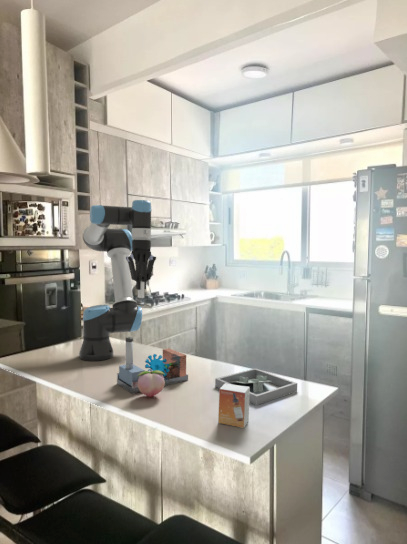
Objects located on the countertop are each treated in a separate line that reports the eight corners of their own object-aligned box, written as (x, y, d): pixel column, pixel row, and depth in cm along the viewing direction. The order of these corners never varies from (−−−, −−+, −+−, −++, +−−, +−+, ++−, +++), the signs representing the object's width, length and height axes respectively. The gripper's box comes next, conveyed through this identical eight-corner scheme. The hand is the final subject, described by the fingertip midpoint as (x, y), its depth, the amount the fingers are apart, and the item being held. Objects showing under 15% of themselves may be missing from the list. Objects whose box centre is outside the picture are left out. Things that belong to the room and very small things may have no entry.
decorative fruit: (160, 390, 140) (161, 363, 140) (166, 399, 133) (167, 370, 132) (134, 393, 137) (134, 365, 136) (139, 402, 129) (139, 373, 129)
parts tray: (215, 386, 146) (215, 378, 145) (254, 375, 159) (255, 368, 158) (256, 405, 129) (256, 396, 129) (297, 391, 142) (297, 383, 142)
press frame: (116, 383, 146) (117, 357, 146) (170, 371, 161) (170, 347, 161) (132, 393, 137) (132, 365, 136) (188, 380, 152) (188, 354, 151)
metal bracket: (277, 375, 143) (238, 378, 139) (279, 392, 141) (239, 395, 138) (262, 374, 156) (226, 376, 153) (264, 389, 155) (227, 392, 151)
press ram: (119, 378, 146) (119, 335, 145) (131, 375, 149) (131, 334, 148) (132, 386, 138) (132, 341, 137) (144, 383, 141) (144, 339, 140)
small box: (217, 423, 115) (218, 388, 115) (223, 416, 121) (224, 382, 120) (244, 428, 113) (245, 392, 112) (249, 420, 118) (250, 386, 117)
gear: (149, 376, 144) (143, 352, 150) (142, 384, 147) (138, 361, 153) (175, 375, 150) (169, 353, 156) (168, 383, 153) (163, 360, 159)
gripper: (131, 238, 151) (131, 299, 153) (160, 239, 159) (159, 297, 161) (122, 238, 157) (122, 297, 158) (150, 239, 165) (150, 295, 167)
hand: (141, 297), depth 160 cm, fingers closed
